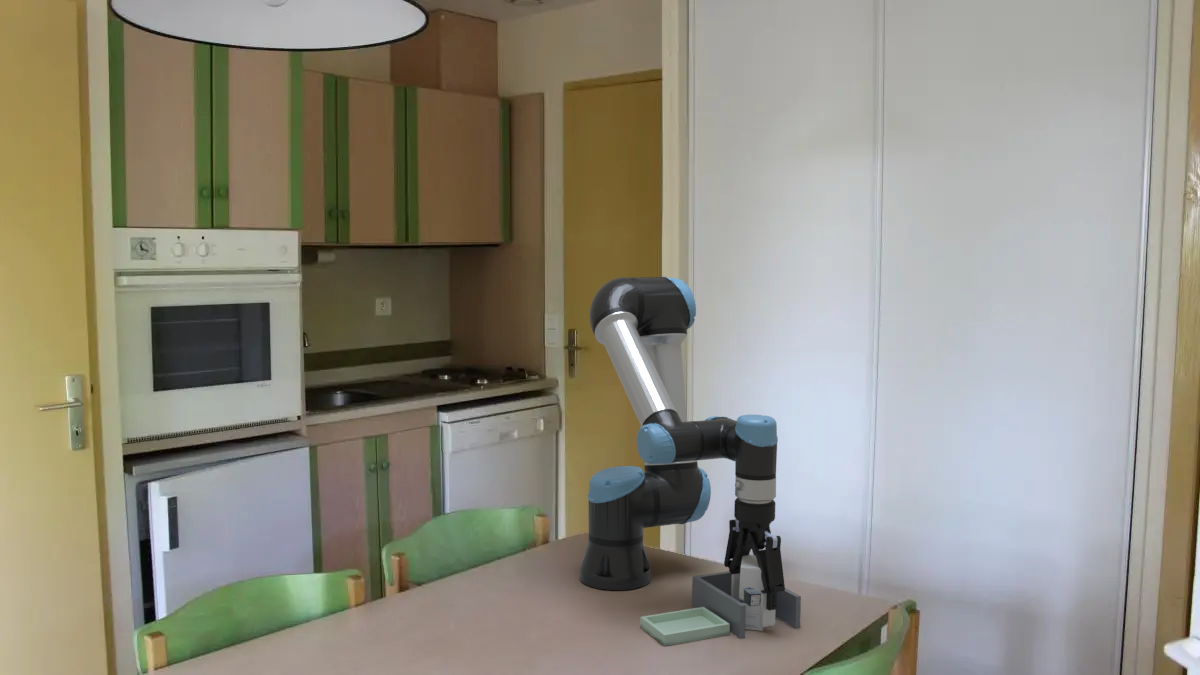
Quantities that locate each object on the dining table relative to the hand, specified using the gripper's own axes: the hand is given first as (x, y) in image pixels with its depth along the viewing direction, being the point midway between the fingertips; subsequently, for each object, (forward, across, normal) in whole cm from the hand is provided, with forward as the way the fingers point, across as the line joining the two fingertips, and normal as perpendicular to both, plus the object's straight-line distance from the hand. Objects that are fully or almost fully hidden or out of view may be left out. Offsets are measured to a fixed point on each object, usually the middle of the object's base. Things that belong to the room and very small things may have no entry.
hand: (752, 615), depth 179 cm
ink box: (+1, 0, 0) cm, 1 cm away
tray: (+1, -1, -14) cm, 14 cm away
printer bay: (+1, -2, 0) cm, 3 cm away
